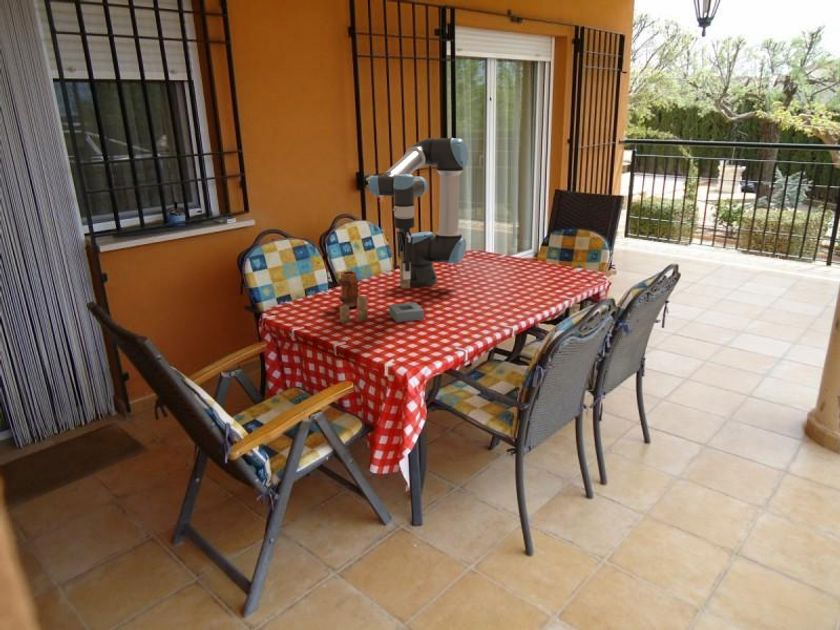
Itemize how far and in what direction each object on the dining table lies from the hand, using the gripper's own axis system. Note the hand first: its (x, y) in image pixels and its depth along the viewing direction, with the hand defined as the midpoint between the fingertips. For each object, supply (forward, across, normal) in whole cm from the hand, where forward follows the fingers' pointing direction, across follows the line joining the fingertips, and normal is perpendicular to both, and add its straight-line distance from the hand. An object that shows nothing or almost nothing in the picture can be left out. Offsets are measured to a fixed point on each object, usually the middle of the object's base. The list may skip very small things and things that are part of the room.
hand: (405, 277), depth 240 cm
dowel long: (+4, 0, 0) cm, 4 cm away
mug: (+16, -18, -18) cm, 30 cm away
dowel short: (+16, -2, -24) cm, 29 cm away
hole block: (+16, 0, 0) cm, 16 cm away
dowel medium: (+16, -2, -17) cm, 23 cm away
